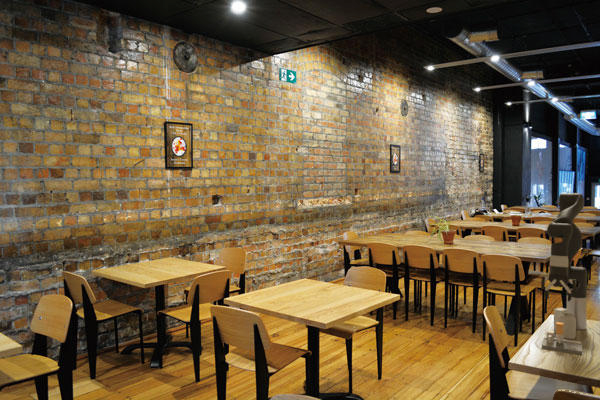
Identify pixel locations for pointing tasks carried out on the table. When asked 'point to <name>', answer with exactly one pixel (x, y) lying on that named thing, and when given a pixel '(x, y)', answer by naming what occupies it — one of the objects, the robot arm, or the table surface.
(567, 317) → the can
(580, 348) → the gauge board
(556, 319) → the skincare box
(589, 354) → the table surface
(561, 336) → the divider leg
